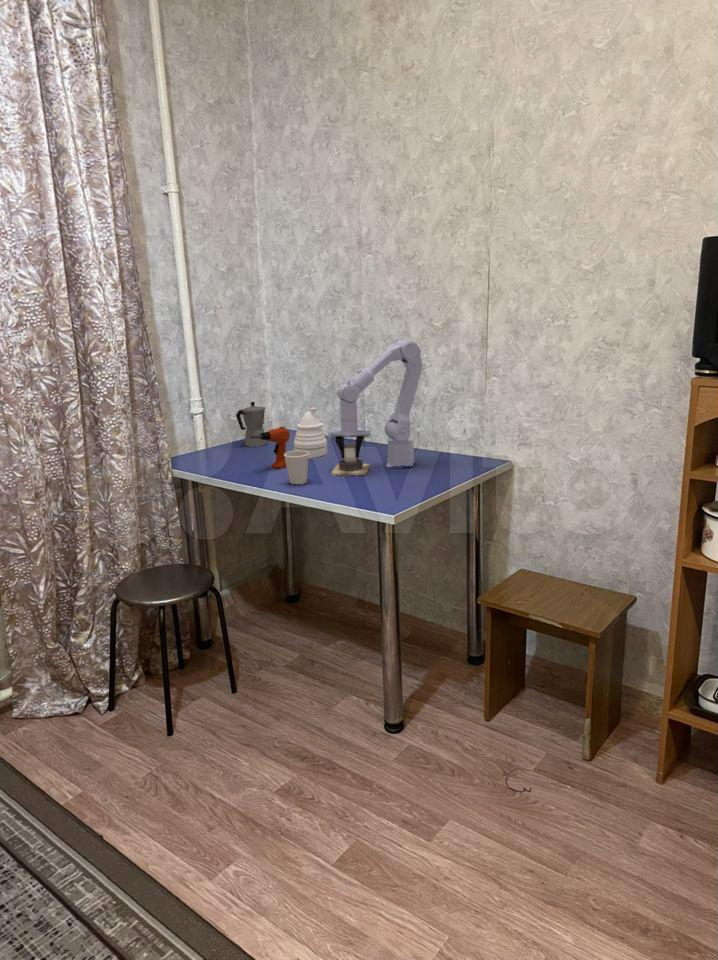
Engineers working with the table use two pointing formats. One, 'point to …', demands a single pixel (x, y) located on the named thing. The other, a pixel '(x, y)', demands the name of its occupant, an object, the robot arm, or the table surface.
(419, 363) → the robot arm
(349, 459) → the grey cylinder
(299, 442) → the honey pot
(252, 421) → the coffeepot
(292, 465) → the dixie cup
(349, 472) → the square plate with ring
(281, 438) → the toy drill
